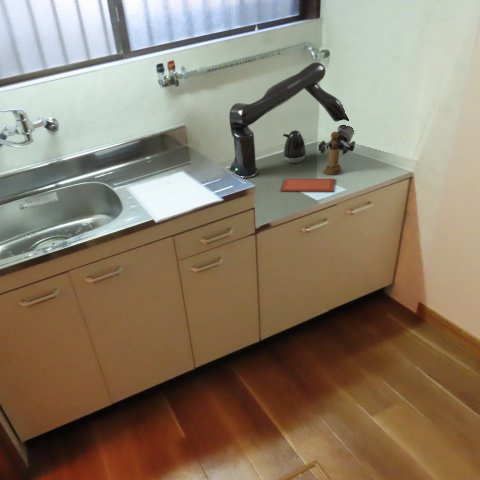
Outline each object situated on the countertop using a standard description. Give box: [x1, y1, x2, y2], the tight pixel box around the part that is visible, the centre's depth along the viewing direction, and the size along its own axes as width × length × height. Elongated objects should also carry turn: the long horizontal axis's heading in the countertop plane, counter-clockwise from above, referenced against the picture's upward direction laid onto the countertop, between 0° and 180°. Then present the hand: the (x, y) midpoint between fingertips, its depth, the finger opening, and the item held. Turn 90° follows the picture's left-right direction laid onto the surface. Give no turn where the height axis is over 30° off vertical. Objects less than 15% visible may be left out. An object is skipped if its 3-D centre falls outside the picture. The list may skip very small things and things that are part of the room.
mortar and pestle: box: [324, 131, 342, 176], centre depth 173 cm, size 7×6×18 cm
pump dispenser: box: [282, 129, 307, 164], centre depth 192 cm, size 10×10×15 cm
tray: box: [281, 178, 335, 193], centre depth 170 cm, size 20×12×1 cm, turn 67°
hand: (332, 151), depth 171 cm, fingers open, 8 cm apart
